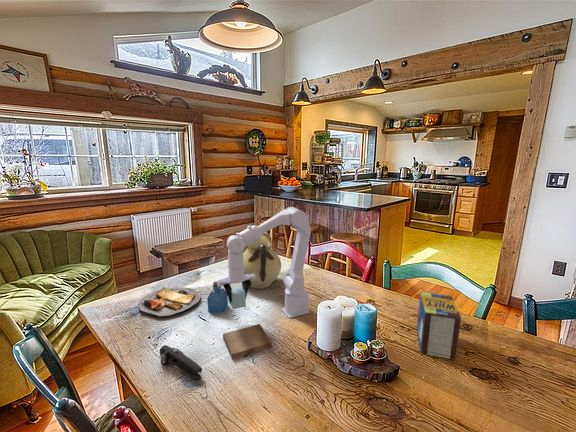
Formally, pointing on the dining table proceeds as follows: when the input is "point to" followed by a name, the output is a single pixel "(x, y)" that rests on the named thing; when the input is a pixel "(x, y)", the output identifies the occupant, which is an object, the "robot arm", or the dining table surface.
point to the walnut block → (246, 341)
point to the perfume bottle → (217, 299)
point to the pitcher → (261, 262)
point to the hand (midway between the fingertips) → (237, 299)
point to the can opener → (179, 361)
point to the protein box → (438, 325)
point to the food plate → (169, 300)
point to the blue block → (238, 298)
